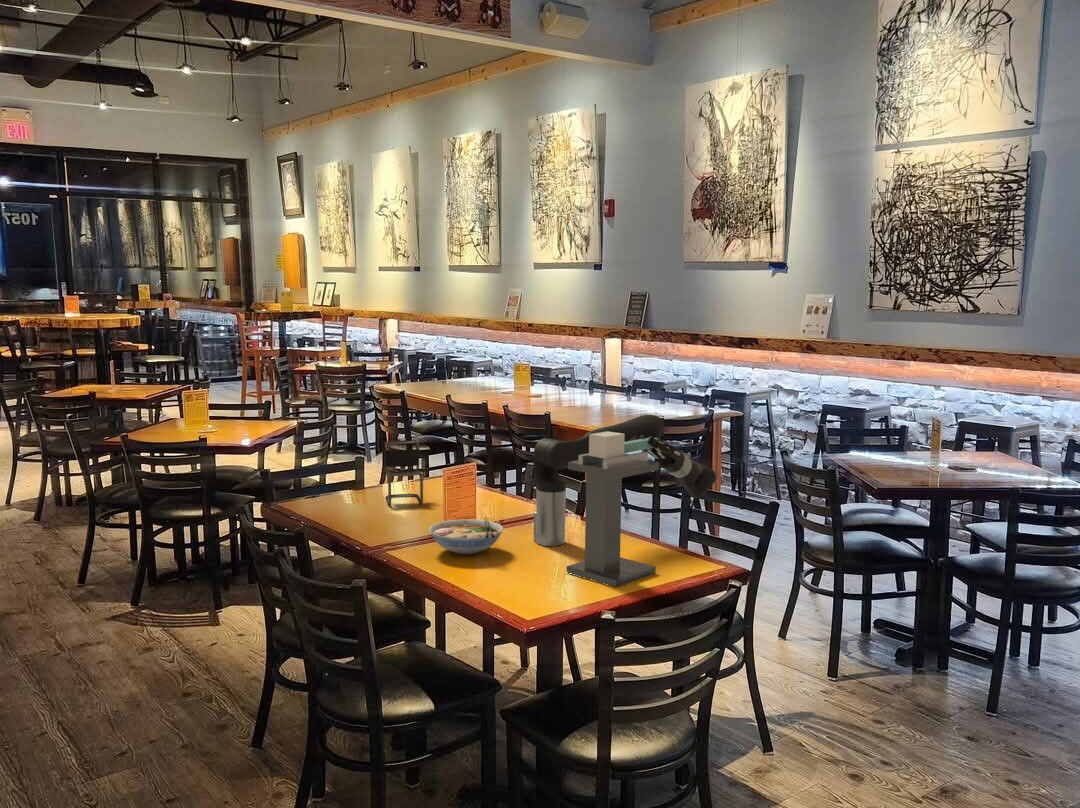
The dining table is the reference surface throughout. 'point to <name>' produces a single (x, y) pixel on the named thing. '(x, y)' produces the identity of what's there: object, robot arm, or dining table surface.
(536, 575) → the dining table surface
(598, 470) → the stand
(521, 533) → the dining table surface
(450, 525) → the ramen bowl
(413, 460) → the chair
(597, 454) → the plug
